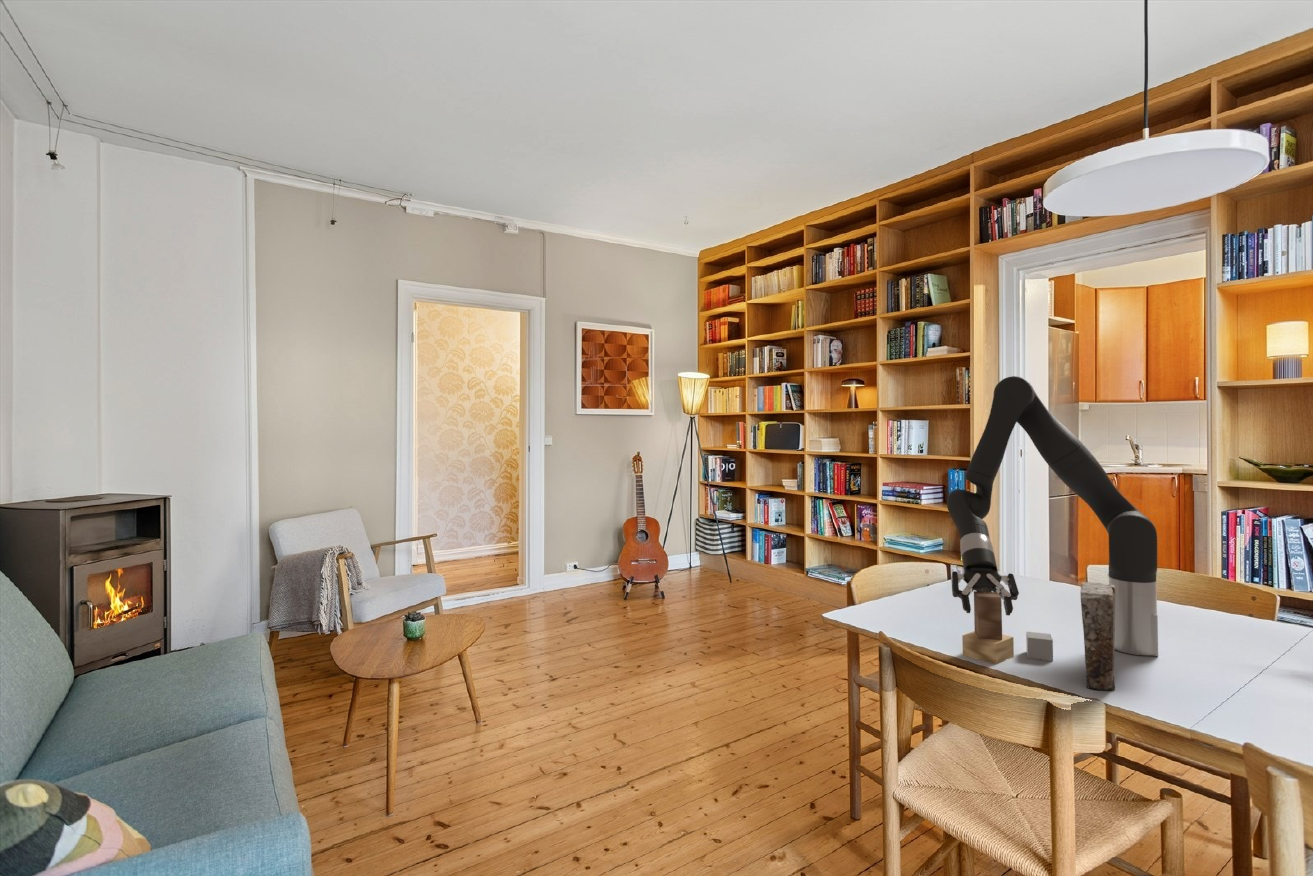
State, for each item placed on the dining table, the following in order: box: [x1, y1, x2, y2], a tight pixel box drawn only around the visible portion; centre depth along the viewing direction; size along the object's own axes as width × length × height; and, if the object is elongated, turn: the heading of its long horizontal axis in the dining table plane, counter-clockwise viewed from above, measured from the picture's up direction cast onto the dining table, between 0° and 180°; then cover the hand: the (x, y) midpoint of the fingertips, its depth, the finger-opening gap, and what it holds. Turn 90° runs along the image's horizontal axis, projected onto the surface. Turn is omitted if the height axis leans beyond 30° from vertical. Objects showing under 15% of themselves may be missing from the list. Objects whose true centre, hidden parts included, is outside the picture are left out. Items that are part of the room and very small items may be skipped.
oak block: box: [962, 630, 1015, 665], centre depth 151 cm, size 8×8×5 cm
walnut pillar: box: [973, 590, 1003, 640], centre depth 151 cm, size 5×5×10 cm
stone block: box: [1080, 581, 1116, 691], centre depth 135 cm, size 13×7×20 cm, turn 149°
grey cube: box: [1025, 631, 1054, 662], centre depth 150 cm, size 5×5×5 cm
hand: (988, 612), depth 150 cm, fingers open, 8 cm apart
